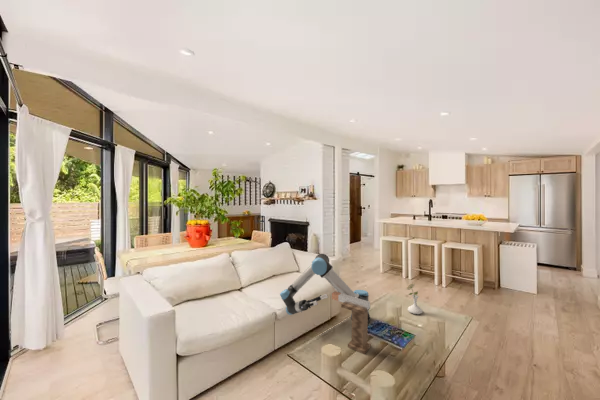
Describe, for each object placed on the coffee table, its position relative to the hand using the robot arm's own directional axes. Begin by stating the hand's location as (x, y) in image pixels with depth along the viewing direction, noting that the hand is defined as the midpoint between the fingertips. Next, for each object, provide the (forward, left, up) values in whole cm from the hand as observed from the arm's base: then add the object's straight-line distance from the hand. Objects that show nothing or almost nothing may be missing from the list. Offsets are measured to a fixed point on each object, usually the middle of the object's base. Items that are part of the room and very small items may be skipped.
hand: (322, 299), depth 194 cm
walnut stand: (+19, +19, -25) cm, 36 cm away
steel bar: (+16, +16, +3) cm, 23 cm away
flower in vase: (-17, +82, -25) cm, 87 cm away
